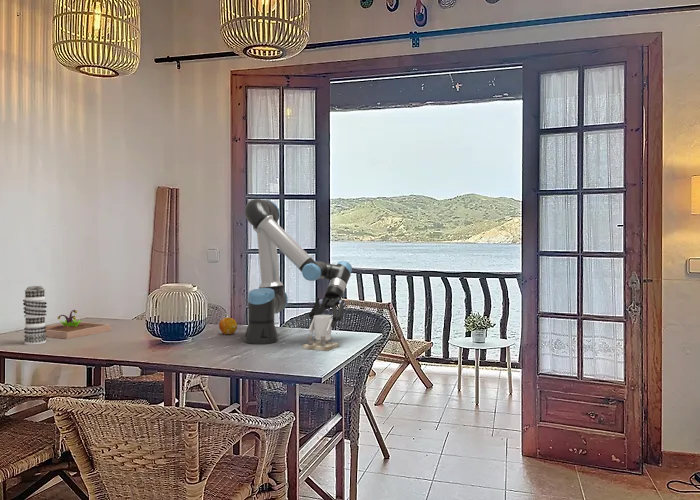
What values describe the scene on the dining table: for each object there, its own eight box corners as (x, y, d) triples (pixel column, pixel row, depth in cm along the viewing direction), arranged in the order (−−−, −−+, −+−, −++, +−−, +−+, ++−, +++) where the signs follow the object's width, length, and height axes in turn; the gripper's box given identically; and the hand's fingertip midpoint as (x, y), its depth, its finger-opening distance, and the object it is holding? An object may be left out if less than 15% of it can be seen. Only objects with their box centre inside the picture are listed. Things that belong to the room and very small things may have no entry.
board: (302, 348, 236) (302, 335, 236) (314, 344, 246) (314, 331, 246) (327, 350, 231) (327, 337, 231) (339, 346, 241) (339, 333, 241)
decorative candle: (20, 342, 248) (19, 286, 247) (43, 340, 255) (42, 285, 254) (27, 345, 242) (26, 287, 241) (50, 342, 249) (49, 286, 248)
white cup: (329, 341, 236) (329, 317, 235) (311, 340, 237) (311, 317, 237) (334, 337, 243) (333, 314, 243) (316, 337, 245) (316, 314, 245)
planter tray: (30, 334, 268) (30, 328, 268) (75, 327, 291) (75, 321, 291) (67, 338, 258) (67, 332, 258) (110, 330, 281) (110, 324, 281)
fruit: (234, 335, 267) (234, 318, 267) (217, 335, 267) (216, 318, 267) (238, 332, 276) (238, 316, 275) (221, 332, 276) (221, 316, 275)
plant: (101, 332, 279) (101, 309, 278) (63, 338, 262) (62, 314, 262) (78, 328, 290) (78, 306, 289) (40, 333, 273) (40, 311, 273)
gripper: (358, 296, 250) (343, 339, 235) (318, 295, 258) (301, 335, 244) (354, 285, 245) (338, 328, 230) (312, 284, 253) (294, 325, 239)
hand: (319, 332), depth 237 cm, fingers closed on white cup, 8 cm apart
